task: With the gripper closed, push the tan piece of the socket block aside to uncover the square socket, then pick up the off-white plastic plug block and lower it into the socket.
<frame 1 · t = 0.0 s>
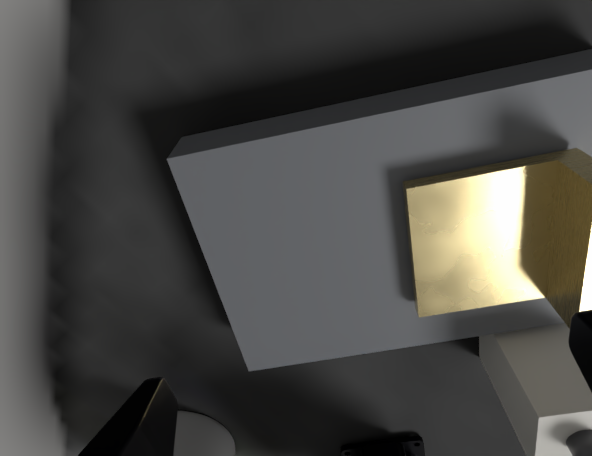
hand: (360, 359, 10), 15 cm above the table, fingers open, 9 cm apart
socket block: (392, 218, 25), on the table
plug: (513, 327, 29), on the table
tan piece: (502, 256, 20), point 5 cm above the table, slide at 0.0 cm
mug: (204, 445, 36), on the table
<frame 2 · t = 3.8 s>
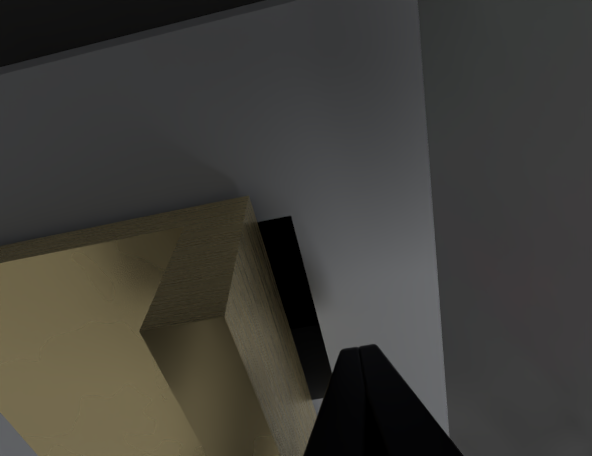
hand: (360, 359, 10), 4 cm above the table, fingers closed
socket block: (102, 290, 14), on the table
tan piece: (121, 417, 10), point 5 cm above the table, slide at 1.5 cm, touching gripper
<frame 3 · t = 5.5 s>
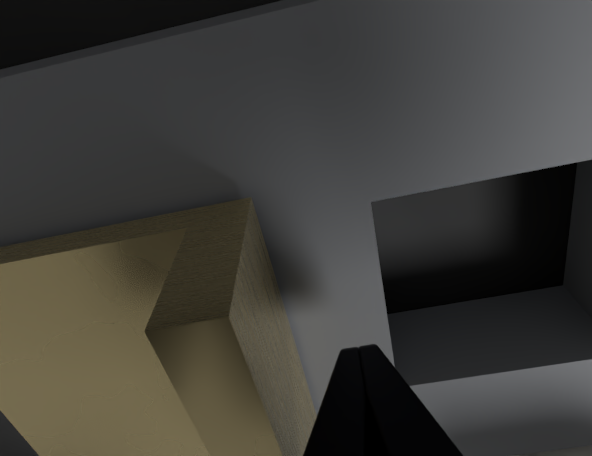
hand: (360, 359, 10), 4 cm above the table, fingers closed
socket block: (336, 248, 14), on the table
plug: (546, 418, 18), on the table
tan piece: (123, 417, 10), point 5 cm above the table, slide at 9.2 cm, touching gripper
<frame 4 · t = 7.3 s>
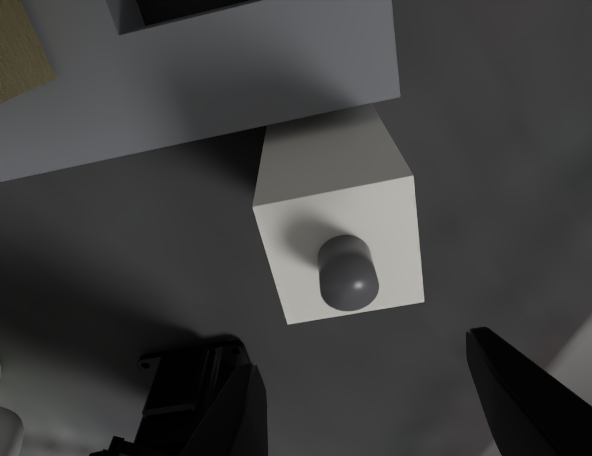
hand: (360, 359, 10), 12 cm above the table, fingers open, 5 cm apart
plug: (326, 159, 20), on the table
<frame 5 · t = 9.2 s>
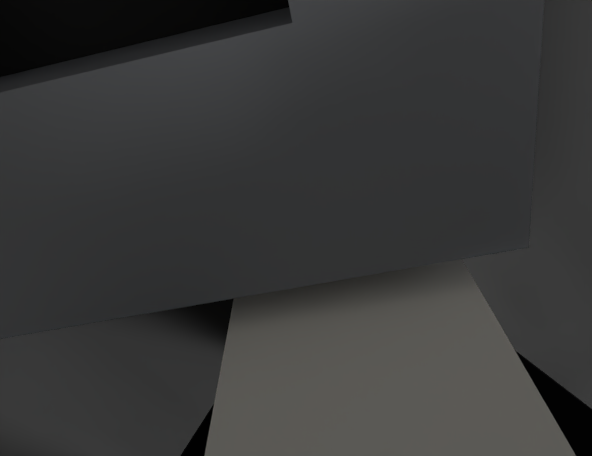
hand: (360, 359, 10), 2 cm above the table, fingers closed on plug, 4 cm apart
plug: (350, 299, 11), on the table, touching gripper
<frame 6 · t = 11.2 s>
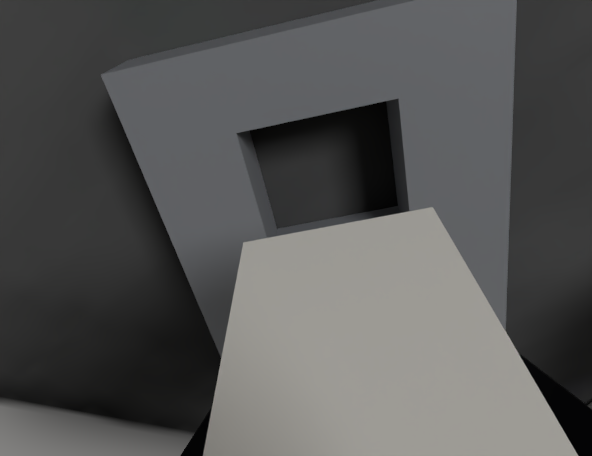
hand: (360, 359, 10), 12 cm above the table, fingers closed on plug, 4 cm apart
socket block: (339, 234, 22), on the table
plug: (350, 298, 11), point 10 cm above the table, touching gripper
when the fingers open (4 cm above the table, at t = 13.3 s): plug drops 2 cm, resting in socket block.
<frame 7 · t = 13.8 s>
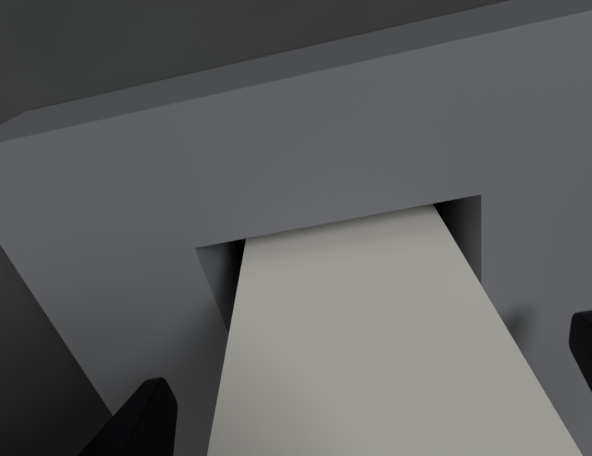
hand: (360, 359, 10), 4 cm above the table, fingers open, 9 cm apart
socket block: (360, 351, 15), on the table
plug: (343, 255, 13), resting in socket block
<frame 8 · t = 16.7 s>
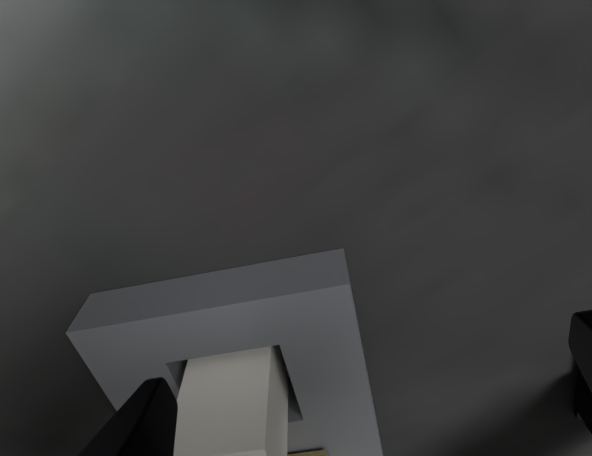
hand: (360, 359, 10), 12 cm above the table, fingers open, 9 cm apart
socket block: (260, 395, 28), on the table
plug: (244, 350, 26), resting in socket block
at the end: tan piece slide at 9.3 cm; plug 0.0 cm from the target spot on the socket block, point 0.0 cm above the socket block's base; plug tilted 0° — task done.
